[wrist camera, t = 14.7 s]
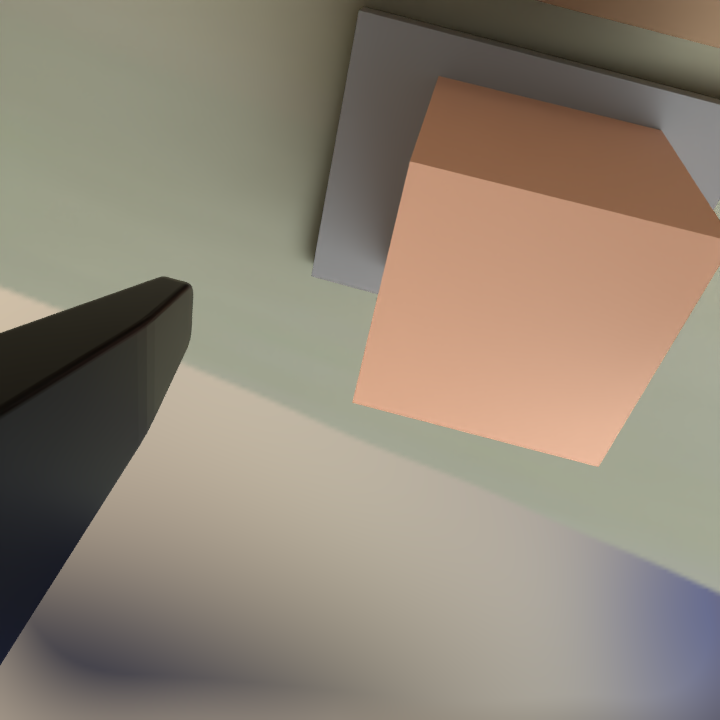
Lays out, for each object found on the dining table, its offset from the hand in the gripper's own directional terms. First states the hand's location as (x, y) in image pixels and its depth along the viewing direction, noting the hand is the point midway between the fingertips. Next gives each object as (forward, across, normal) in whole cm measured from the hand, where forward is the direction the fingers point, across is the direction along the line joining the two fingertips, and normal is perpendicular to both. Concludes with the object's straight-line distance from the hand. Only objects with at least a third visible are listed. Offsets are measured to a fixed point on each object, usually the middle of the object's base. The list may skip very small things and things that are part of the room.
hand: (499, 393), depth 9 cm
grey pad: (+7, 0, 0) cm, 7 cm away
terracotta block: (+7, 0, 0) cm, 7 cm away
